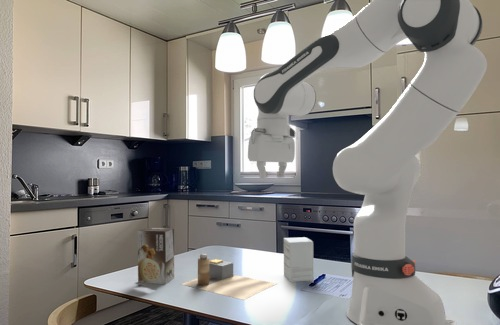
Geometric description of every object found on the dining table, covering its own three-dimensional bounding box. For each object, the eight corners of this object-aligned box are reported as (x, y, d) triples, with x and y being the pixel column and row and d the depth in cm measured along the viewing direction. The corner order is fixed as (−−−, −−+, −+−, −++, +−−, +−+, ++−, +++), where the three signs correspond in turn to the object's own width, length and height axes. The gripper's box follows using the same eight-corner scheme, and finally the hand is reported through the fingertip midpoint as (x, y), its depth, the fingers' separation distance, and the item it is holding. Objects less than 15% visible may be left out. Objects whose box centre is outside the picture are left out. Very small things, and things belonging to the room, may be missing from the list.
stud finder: (233, 275, 113) (233, 261, 113) (222, 279, 109) (222, 264, 109) (216, 272, 117) (216, 258, 117) (205, 275, 113) (205, 261, 113)
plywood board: (276, 287, 105) (276, 283, 106) (243, 304, 92) (243, 299, 92) (217, 275, 118) (217, 271, 118) (180, 288, 105) (180, 284, 105)
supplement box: (306, 277, 116) (306, 236, 116) (314, 284, 109) (313, 241, 109) (283, 278, 115) (283, 237, 115) (289, 286, 107) (289, 241, 108)
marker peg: (211, 283, 106) (211, 254, 106) (203, 286, 103) (203, 256, 103) (203, 281, 108) (203, 252, 108) (195, 284, 105) (195, 254, 105)
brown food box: (175, 281, 112) (175, 227, 112) (166, 288, 105) (166, 231, 106) (147, 279, 114) (147, 226, 114) (136, 286, 107) (136, 230, 108)
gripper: (261, 126, 98) (261, 178, 98) (298, 132, 115) (298, 177, 114) (242, 127, 102) (242, 178, 101) (280, 133, 118) (280, 177, 118)
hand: (272, 177), depth 108 cm, fingers open, 8 cm apart
